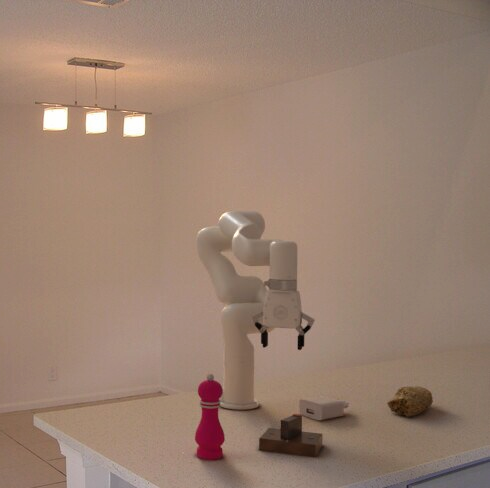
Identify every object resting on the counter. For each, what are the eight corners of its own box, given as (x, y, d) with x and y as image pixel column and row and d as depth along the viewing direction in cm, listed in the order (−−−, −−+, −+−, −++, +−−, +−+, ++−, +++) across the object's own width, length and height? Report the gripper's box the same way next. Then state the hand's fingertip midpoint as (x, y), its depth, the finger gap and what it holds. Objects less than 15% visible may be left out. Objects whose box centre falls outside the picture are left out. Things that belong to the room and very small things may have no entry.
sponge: (419, 424, 209) (448, 398, 223) (413, 398, 208) (441, 374, 222) (379, 423, 218) (409, 398, 232) (372, 398, 218) (402, 375, 232)
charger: (358, 414, 215) (321, 421, 207) (335, 407, 223) (299, 414, 214) (358, 398, 215) (321, 405, 207) (335, 392, 222) (299, 398, 214)
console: (258, 450, 180) (258, 438, 180) (269, 438, 190) (269, 426, 190) (315, 457, 175) (315, 444, 175) (322, 444, 185) (323, 432, 185)
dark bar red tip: (288, 439, 179) (288, 420, 179) (280, 437, 180) (280, 419, 180) (301, 433, 184) (302, 414, 184) (294, 431, 186) (294, 413, 186)
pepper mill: (193, 451, 179) (193, 370, 179) (221, 450, 180) (222, 370, 179) (196, 460, 172) (197, 377, 171) (226, 460, 173) (227, 376, 172)
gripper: (248, 285, 198) (248, 348, 199) (312, 288, 192) (311, 352, 192) (255, 283, 205) (255, 343, 206) (317, 286, 199) (316, 348, 199)
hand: (282, 348), depth 199 cm, fingers open, 9 cm apart
